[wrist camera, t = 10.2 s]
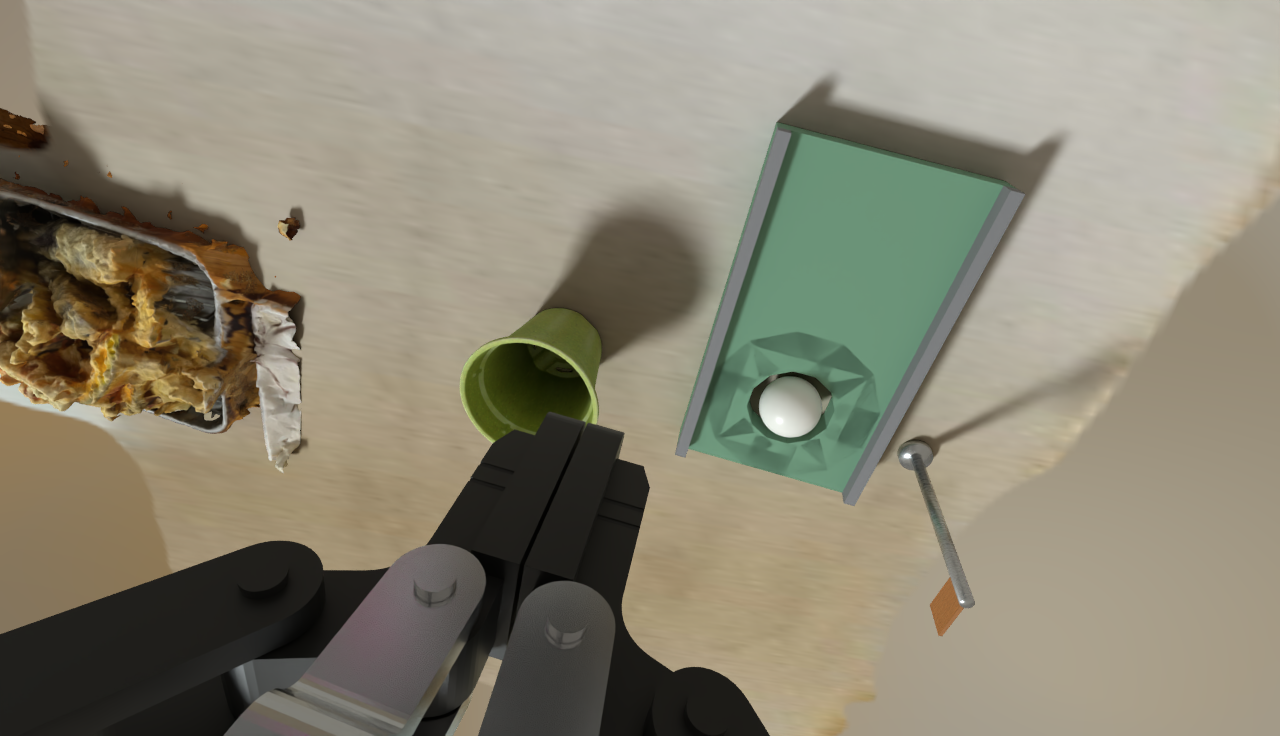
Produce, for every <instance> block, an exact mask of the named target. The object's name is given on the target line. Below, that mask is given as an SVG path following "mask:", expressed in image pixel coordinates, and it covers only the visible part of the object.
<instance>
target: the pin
mask: <svg viewBox="0 0 1280 736" xmlns="http://www.w3.org/2000/svg"><path fill="white" fill-rule="evenodd" d="M897 454H898V458H899V462H900V464H901V465H902V466H903V467H904V468H906V469H909V470H914V471H915V474H916V477H917V480H918V483H919V486H920V489H921V492H922V495H923V498H924V501H925V504H926V507H927V510H928V513H929V516H930V518H931V521H932V524H933V527H934V530H935V533H936V536H937V539H938V542H939V545H940V548H941V551H942V554H943V557H944V560H945V563H946V566H947V569H948V572H949V575H950V578H949V579H948V581H947V582H946V583H945V585H944V586H943V588H942V589H941V590H940V592H939V593H938V594H937V596H936V597H935V599H934V600H933V601H932V603H931V604H930V607H931V610H932V614H933V618H934V620H935V625H936V628H937V631H938V635H939V636H943V634H944V633H945V632H946V630H947V629H948V628H949V627H950V625H951V624H952V623H953V621H954V620H955V619H956V618H957V616H958V615H959V614H960V612H961V611H962V610H963V609H964V608H971V607H973V606H974V605H975V601H974V599H973V596H972V593H971V590H970V588H969V585H968V582H967V580H966V577H965V574H964V571H963V569H962V566H961V563H960V560H959V558H958V555H957V552H956V550H955V547H954V544H953V541H952V538H951V536H950V533H949V530H948V527H947V525H946V522H945V519H944V516H943V514H942V511H941V508H940V506H939V503H938V500H937V497H936V495H935V492H934V489H933V486H932V484H931V481H930V478H929V475H928V473H927V470H926V467H927V466H929V465H930V464H931V462H932V460H933V453H932V450H931V448H930V446H929V445H928V444H927V443H925V442H923V441H920V440H911V441H908V442H905V443H904V444H902V445H901V446H900V448H899V449H898V453H897Z"/></svg>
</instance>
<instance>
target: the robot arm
mask: <svg viewBox="0 0 1280 736" xmlns="http://www.w3.org/2000/svg"><path fill="white" fill-rule="evenodd" d="M623 438H624V433H623V432H620V431H616V430H613V429H609V428H606V427H602V426H599V425H595V424H592V423H588V424H587V425H586V422H584V421H581V420H577V419H574V418H570V417H567V416H563V415H560V414H556V413H553V412H548V413H547V415H546V416H545V418H544V420H543V422H542V423H541V425H540V427H539V429H538V431H537V432H536V434H535V435H532V434H529V433H526V432H522V431H519V430H515V429H514V430H513V431H511V432H509V433H508V434H506V435H505V436H503V437H501V438H500V439H498V440H497V441H495V442H494V443H493V444H492V445H491V447H490V449H489V450H488V452H487V453H486V455H485V456H484V458H483V459H482V461H481V464H480V466H479V465H478V467H477V469H476V470H475V472H474V473H473V475H472V476H471V479H470V481H468V482H467V484H466V486H465V487H464V489H463V490H462V492H461V493H460V495H459V496H458V498H457V499H456V501H455V502H454V504H453V506H452V507H451V509H450V510H449V512H448V513H447V515H446V516H445V518H444V519H443V521H442V523H441V524H440V526H439V527H438V529H437V530H436V532H435V533H434V535H433V536H432V538H431V539H430V541H429V542H428V543H427V545H426V546H422V547H419V548H416V549H414V550H411V551H409V552H408V553H406V554H404V555H403V556H401V557H400V558H399V559H397V560H396V561H395V563H394V564H393V565H392V566H391V567H388V568H384V569H378V570H366V571H353V570H323V565H322V563H321V560H320V558H319V557H318V555H317V554H316V553H315V552H314V551H313V550H312V549H310V548H308V547H307V546H305V545H302V544H299V543H296V542H290V541H269V542H263V543H259V544H255V545H252V546H249V547H246V548H243V549H240V550H237V551H234V552H232V553H229V554H226V555H223V556H220V557H217V558H215V559H212V560H209V561H206V562H203V563H201V564H198V565H195V566H192V567H189V568H186V569H184V570H181V571H178V572H175V573H172V574H169V575H167V576H164V577H161V578H158V579H156V580H153V581H150V582H147V583H144V584H141V585H138V586H136V587H133V588H130V589H127V590H124V591H122V592H119V593H116V594H113V595H110V596H107V597H105V598H102V599H99V600H96V601H93V602H90V603H88V604H85V605H82V606H79V607H77V608H73V609H71V610H68V611H65V612H62V613H59V614H57V615H54V616H51V617H48V618H45V619H43V620H40V621H37V622H34V623H31V624H28V625H26V626H23V627H20V628H17V629H14V630H11V631H9V632H6V633H3V634H0V736H453V735H454V733H455V731H456V729H457V727H458V725H459V723H460V721H461V719H462V717H463V715H464V714H465V711H466V710H467V708H468V706H469V703H470V701H471V697H472V693H473V690H474V688H475V686H476V684H477V682H478V679H479V677H480V675H481V672H482V670H483V668H484V666H485V663H486V661H487V659H488V656H490V657H494V658H497V659H500V660H503V661H502V664H501V667H500V670H499V673H498V676H497V679H496V682H495V685H494V688H493V691H492V695H491V698H490V701H489V704H488V707H487V710H486V713H485V717H484V719H483V722H482V725H481V728H480V732H479V735H478V736H770V735H769V734H768V732H767V730H766V729H765V727H764V725H763V724H762V722H761V721H760V719H759V717H758V716H757V714H756V713H755V711H754V709H753V708H752V706H751V704H750V703H749V701H748V700H747V698H746V697H745V695H744V694H743V693H742V691H741V690H740V689H739V688H738V687H737V686H736V685H735V684H734V683H733V682H732V681H730V680H729V679H728V678H726V677H725V676H723V675H721V674H720V673H718V672H715V671H713V670H710V669H706V668H701V667H688V668H683V669H680V670H677V671H675V672H672V671H671V670H669V669H668V668H666V667H665V666H663V665H662V664H661V663H659V662H658V661H656V660H655V659H653V658H652V657H650V656H649V655H648V654H646V653H645V652H644V651H643V650H642V649H641V648H640V647H639V646H638V645H637V644H636V643H635V642H634V640H633V639H632V638H631V636H630V634H629V633H628V631H627V629H626V627H625V624H624V621H623V616H622V605H621V604H622V598H623V594H624V590H625V585H626V581H627V577H628V573H629V569H630V565H631V561H632V557H633V553H634V549H635V545H636V541H637V537H638V533H639V529H640V525H641V521H642V517H643V512H644V509H645V505H646V501H647V497H648V493H649V489H650V487H649V484H648V480H647V477H646V473H645V470H644V466H641V465H637V464H634V463H630V462H627V461H623V460H620V459H618V458H619V454H620V450H621V446H622V442H623Z"/></svg>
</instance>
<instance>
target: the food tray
mask: <svg viewBox="0 0 1280 736" xmlns="http://www.w3.org/2000/svg"><path fill="white" fill-rule="evenodd" d="M34 123H36V121H34V120H32V119H30V118H26V117H22V116H21V115H20V116H18V115H15V114H13V113H10V112H9V111H8V110H5V109H2V108H0V147H2V148H6V149H12V150H22V151H42V150H45V149H46V148H47V147H48V146H49V140H50V135H49V132H48V129H47V126H46V125H41V126H40V125H38V126H36V125H33V124H34ZM19 157H20V155H19ZM64 163H65V165H64V167H65V166H67V165H68V160H67V161H64ZM15 174H16V172H15ZM107 176H108V177H111V178H112V175H111V173H110V171H109V173H108V175H107ZM13 178H14V177H13ZM19 178H20V176H19V174H16V177H15V179H19ZM122 209H123V210H124V211H125V213H124V216H123V215H121V214H118V213H115V212H111V211H110V212H108V213H106V214H105V215H104V214H101V213H100V211H99V209H98V207H97V206H96V204H95V203H94V202H93V201H92V200H91V199H89V198H87V197H85V198H84V197H82V196H80V200H79V201H75V200H72V201H68V202H64V201H63V200H62V198H61V197H60V196H59V195H55V194H52V193H50V195H48V194H47V193H46V192H44V191H43V190H40V189H38V188H35V187H29V186H21V185H19V184H15V183H12V182H8V181H6V180H3V179H1V178H0V374H1V378H0V381H1V382H2V383H3V384H5V385H7V386H11V385H14V384H18V383H21V384H20V386H19V389H18V390H19V391H20V392H21V393H22V394H23V395H24V396H25V397H28V398H29V399H30V401H31V403H34V404H46V403H48V404H51V405H53V407H54V408H56V409H59V411H65V410H67V409H68V408H69V407H70V406H71V405H72V404H73V403H74V402H79V403H80V404H85V405H90V406H95V407H101V412H102V413H103V414H104V417H105V418H106V419H108V420H110V421H113V420H114V419H116V418H117V417H119V416H120V415H119V416H117V414H118V413H120V412H121V413H124V414H125V415H128V416H131V415H133V414H134V415H135V414H137V413H141V412H142V410H143V411H146V412H148V413H152V414H154V415H155V416H159V417H162V418H164V419H168V420H171V421H173V422H175V423H178V424H182V425H186V426H189V427H192V428H193V429H197V430H200V431H202V432H206V433H211V434H216V433H223V432H226V431H227V430H228V429H229V428H230V427H231V425H232V423H233V422H234V421H235V420H240V419H243V417H245V416H246V415H248V414H250V412H249V411H248V408H251V407H260V406H261V410H262V412H261V413H262V421H263V429H264V438H265V444H266V446H267V449H266V450H267V451H268V456H269V458H268V459H269V460H276V465H275V467H276V468H277V469H279V470H280V471H281V472H283V470H282V469H283V467H286V466H287V465H288V464H287V459H289V456H290V454H291V452H293V450H295V448H297V447H298V446H299V444H300V440H301V439H300V438H301V435H300V430H301V428H300V427H301V426H300V424H301V410H300V411H299V409H298V407H297V404H300V403H301V400H300V393H299V391H300V384H299V380H300V375H299V369H298V366H297V363H298V362H300V361H301V360H300V359H298V358H297V357H296V356H294V354H293V353H292V351H291V350H292V349H299V350H300V348H299V347H297V346H296V343H295V342H294V341H293V340H292V338H293V335H294V334H295V332H296V328H297V327H296V326H295V324H294V323H293V320H292V319H290V318H289V317H288V313H287V312H288V311H291V309H292V308H293V307H294V305H295V304H297V303H298V301H299V299H300V298H301V296H299V295H298V294H297V293H295V292H286V291H281V290H276V291H273V292H272V291H270V290H268V289H266V288H265V287H264V286H263V285H262V283H261V282H260V281H259V280H258V278H257V277H256V276H255V274H254V272H253V271H252V269H251V267H250V264H249V262H248V259H249V256H248V254H247V252H246V251H245V249H244V248H243V247H239V246H237V245H234V244H232V245H229V246H227V243H228V242H226V241H217V240H215V239H212V243H210V242H208V241H207V240H205V239H203V238H201V237H200V236H198V235H196V234H194V233H193V232H191V231H189V230H188V231H185V232H175V231H172V230H170V229H166V228H158V227H155V226H153V225H152V224H151V223H150V222H143V223H140V222H139V221H137V220H136V218H135V217H134V216H133V215H132V213H131V212H130V211H129V210H128V209H127V208H126V207H122ZM171 212H172V211H170V212H169V213H168V215H167V216H168V218H169V219H171ZM298 222H299V221H298V220H295V218H286V220H285V221H283V220H281V221H279V223H278V229H279V233H280V234H282V235H283V236H285V237H286V238H288V239H289V240H292V238H293V237H294V236H295V235H296V233H297V232H298V230H297V229H299V227H300V225H299V223H298ZM193 228H196V229H199V230H200V231H201V232H203V233H204V231H205V230H206V229H207V228H208V226H207V225H206V224H202V225H201V226H199V227H193ZM275 277H276V276H275ZM259 404H260V406H258V405H259ZM177 409H180V410H181V411H176V412H174V411H175V410H177ZM211 411H212V416H211V418H213V417H214V415H215V414H218V415H220V417H219V418H217V419H215V420H213V421H208V420H207V421H206V420H204V414H205V413H208V412H211ZM170 412H171V413H170ZM115 416H116V417H115ZM283 473H284V472H283Z"/></svg>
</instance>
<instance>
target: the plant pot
mask: <svg viewBox="0 0 1280 736" xmlns="http://www.w3.org/2000/svg"><path fill="white" fill-rule="evenodd" d="M532 344H533V345H536V348H537V349H535V348H534V347H533V345H532ZM601 353H602V345H601V340H600V337H599V334H598V332H597V330H596V329H595V328H594V327H593V326H592V325H591V324H590V323H589V322H588V321H587V320H586V319H585V318H584V317H583V316H582V315H581V314H579V313H577V312H575V311H572V310H569V309H563V308H552V309H547V310H544V311H542V312H540V313H539V314H537V315H536V316H534V317H533V318H532V319H531V320H529V321H528V322H527V323H526V324H524V325H523V326H522V327H520V328H519V329H518V330H517V331H515V332H514V333H513V334H511V335H510V336H509V337H503V338H499V339H496V340H493V341H490V342H488V343H486V344H485V345H483V346H481V347H480V348H479V349H478V350H476V351H475V352H474V353H473V354H472V355H471V356H470V358H469V359H468V360H467V362H466V363H465V365H464V367H463V370H462V373H461V378H460V395H461V399H462V403H463V406H464V409H465V411H466V413H467V415H468V416H469V418H470V420H471V421H472V423H473V424H474V426H475V427H476V428H477V429H478V430H479V431H480V433H481V434H482V435H483V436H485V437H486V438H487V439H488V440H489V441H490V442H492V443H494V442H495V441H497V440H498V439H500V438H501V437H503V436H505V435H506V434H508V433H509V432H511V431H513V430H514V429H515V430H519V431H522V432H526V433H529V434H532V435H535V434H536V432H537V431H538V429H539V427H540V425H541V423H542V422H543V420H544V418H545V416H546V415H547V413H548V412H553V413H556V414H560V415H563V416H567V417H570V418H574V419H577V420H581V421H584V422H586V425H587V424H588V423H592V424H595V425H597V421H598V416H599V404H598V398H597V394H596V391H595V384H596V378H597V373H598V368H599V364H600V358H601ZM557 367H558V368H563V369H572V370H573V371H572V372H571V373H570V372H559V371H557V370H556V368H557Z"/></svg>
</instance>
